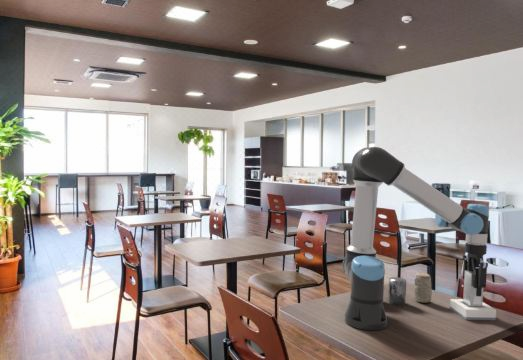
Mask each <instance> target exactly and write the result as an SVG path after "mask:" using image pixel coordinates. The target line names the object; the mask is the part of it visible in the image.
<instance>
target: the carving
mask: <svg viewBox="0 0 523 360" xmlns="http://www.w3.org/2000/svg"><path fill="white" fill-rule="evenodd" d="M413 288H414V289H413V290H414V292H413V293H414V298H415V299H414V300H415V301H416V302H418V303H424V304H425V303H429V302H431V301H432V295H433V294H432V293H433V292H432V277H431V275H430V274H428V273H426V272H417V273H416V274H415V275H414V284H413Z"/></svg>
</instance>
